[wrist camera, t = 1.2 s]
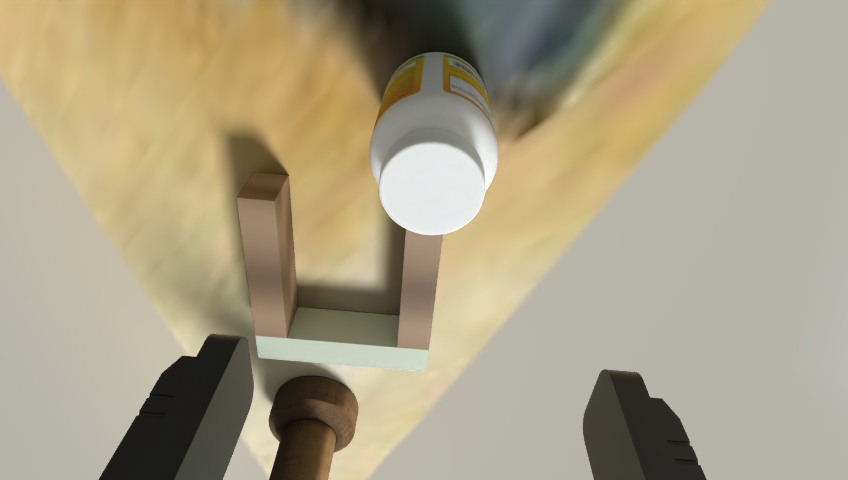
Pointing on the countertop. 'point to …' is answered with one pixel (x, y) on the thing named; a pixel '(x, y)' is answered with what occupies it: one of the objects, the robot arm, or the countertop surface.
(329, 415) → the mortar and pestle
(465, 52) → the countertop surface
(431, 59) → the supplement bottle
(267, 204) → the slot holder
